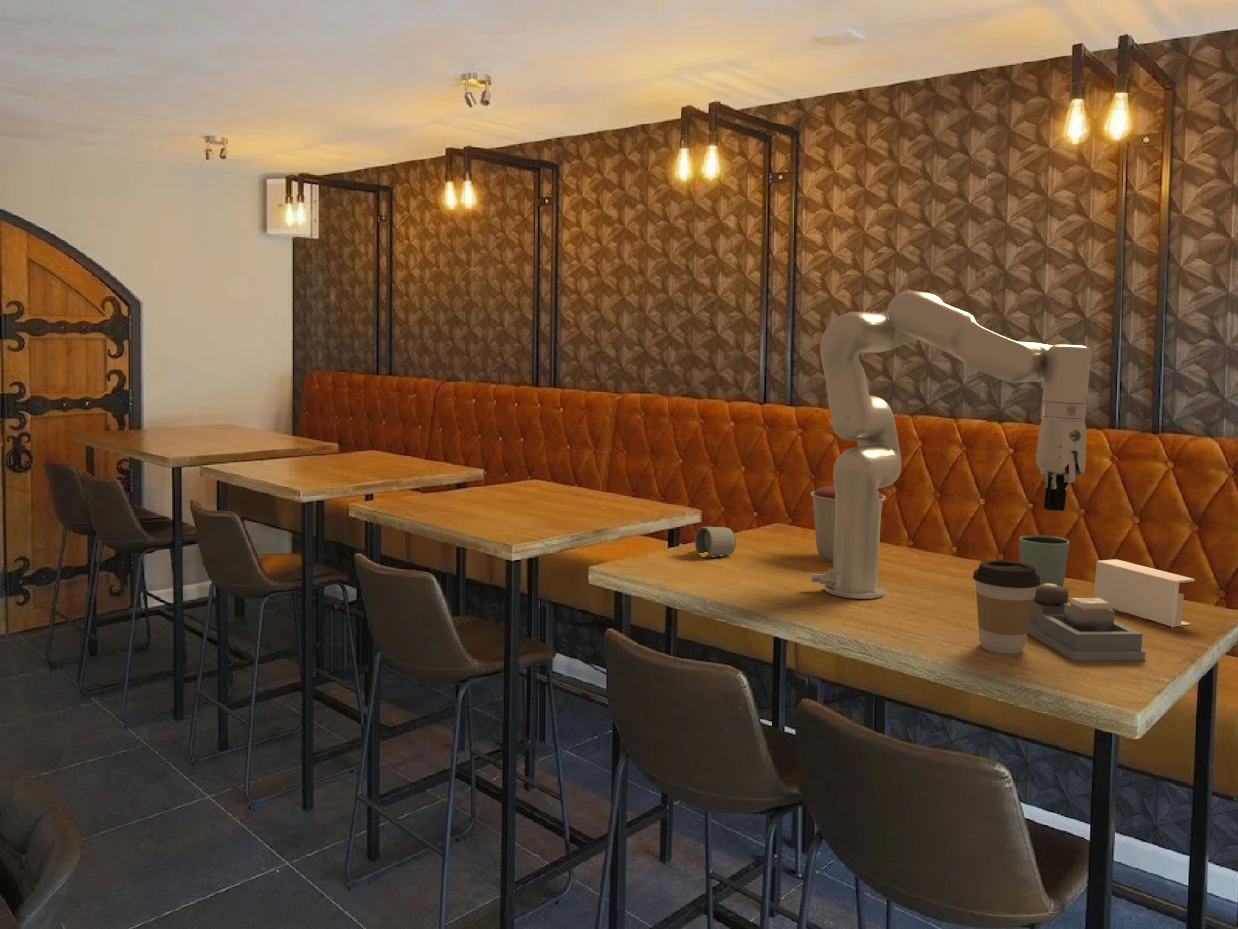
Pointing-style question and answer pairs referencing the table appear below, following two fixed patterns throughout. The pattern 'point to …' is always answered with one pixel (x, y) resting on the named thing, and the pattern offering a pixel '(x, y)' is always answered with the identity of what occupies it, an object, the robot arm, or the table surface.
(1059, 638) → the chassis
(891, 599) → the table surface
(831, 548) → the canister
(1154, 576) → the beige beam
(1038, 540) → the green tumbler
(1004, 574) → the coffee cup
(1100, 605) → the beige block
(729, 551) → the ceramic mug
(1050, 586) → the round knob on base
